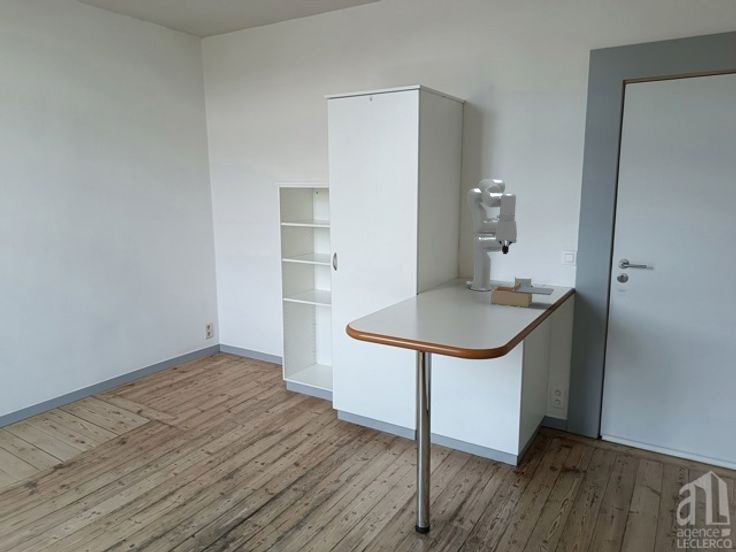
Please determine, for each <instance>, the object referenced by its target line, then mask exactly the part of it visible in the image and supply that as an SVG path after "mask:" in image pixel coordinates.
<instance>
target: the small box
mask: <svg viewBox="0 0 736 552" xmlns="http://www.w3.org/2000/svg"><path fill="white" fill-rule="evenodd" d="M518 282H521V286H526V287H532V277H530V276H514V286H515V285H516V284H517V283H518Z"/></svg>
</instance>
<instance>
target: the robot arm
mask: <svg viewBox="0 0 736 552" xmlns="http://www.w3.org/2000/svg"><path fill="white" fill-rule="evenodd" d="M505 190H506V183H505V181H504V180H503V179H502V178H483V179H482V180H480V181H479V183H478V187H475V188H470V189H469V190H468V192H467V197H466V200H467V205H468V207H469V210H470V212H471V217H472V225H473V231H474V233H475V234H476V235H477V236H475V237H474V238H473V241H472V246H473V256H474V257H473V280H472V281H471V280H466V285H467V286H468V285H469V286H470V290H472V291H481V292H487V291H488V290H489V291H492V290H493V286H491V270H492V269H491V267H492V262H491V261H492V259H491V257H490V255H489V254H488V253H489V252H490V253H491V252H492V253H494V252H501V253H502V254H503V255H507V254H508V253H509V247H510V246H511V245H512V244H516V243H517V241H518V240H517V237H518V233H517V232H518V230H517V229H518V227H517V220H515V219H516V203H517V196H516V194H515V193H510V192H505ZM482 203H483V204H484V205H485V206H486V207H488V208H499V215H496V217H494V218H493V217H490V218H489V217H488V215H487V210H486V208H485V207H484V206H483V205H482ZM489 291H488V292H489Z"/></svg>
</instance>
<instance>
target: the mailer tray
mask: <svg viewBox="0 0 736 552" xmlns="http://www.w3.org/2000/svg"><path fill="white" fill-rule="evenodd" d="M513 289H514V287H513V286H504V285H503V286H502V285H498V286H496V287H494V288H492V290H491V303H492V304H491V305H496V304H501V305H500V306H507V305H510V306H509V307H517V306H520V308H527V307H528V308H529V307H530V305H531V304H532V302H533V294H530V293H519V292H511V291H512V290H513Z"/></svg>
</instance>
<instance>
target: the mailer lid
mask: <svg viewBox="0 0 736 552" xmlns="http://www.w3.org/2000/svg"><path fill="white" fill-rule="evenodd" d="M554 290H555V288H548V287H539V286H538V287H537V286H531V287H526V286H521V282H518V283H517V284H516V285H515V284H514V289H513V290H512V291H511V292H519V293H530V294H532V295H543V296H544V295H545V296H551V295H552V293H553V292H554Z"/></svg>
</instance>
